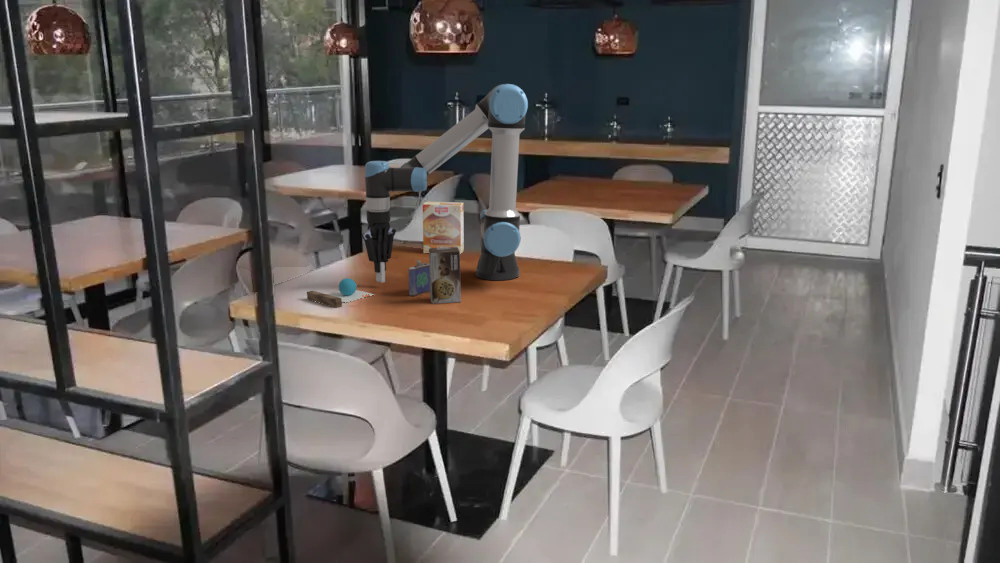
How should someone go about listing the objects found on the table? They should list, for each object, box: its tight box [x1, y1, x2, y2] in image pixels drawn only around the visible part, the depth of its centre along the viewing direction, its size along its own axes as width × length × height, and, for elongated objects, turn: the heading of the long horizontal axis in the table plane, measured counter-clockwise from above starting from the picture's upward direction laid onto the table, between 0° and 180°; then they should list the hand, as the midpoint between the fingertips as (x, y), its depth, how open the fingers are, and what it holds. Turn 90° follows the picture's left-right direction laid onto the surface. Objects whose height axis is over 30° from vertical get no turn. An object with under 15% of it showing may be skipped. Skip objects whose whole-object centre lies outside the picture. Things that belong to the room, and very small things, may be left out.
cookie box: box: [428, 247, 462, 305], centre depth 249 cm, size 9×6×16 cm
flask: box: [408, 259, 430, 297], centre depth 258 cm, size 9×3×11 cm, turn 141°
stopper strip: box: [306, 290, 343, 309], centre depth 247 cm, size 14×2×2 cm, turn 50°
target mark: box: [326, 289, 376, 304], centre depth 256 cm, size 12×12×1 cm
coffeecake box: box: [422, 201, 465, 254], centre depth 315 cm, size 15×7×20 cm, turn 83°
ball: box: [338, 277, 357, 296], centre depth 255 cm, size 6×6×6 cm
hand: (380, 281), depth 266 cm, fingers closed
